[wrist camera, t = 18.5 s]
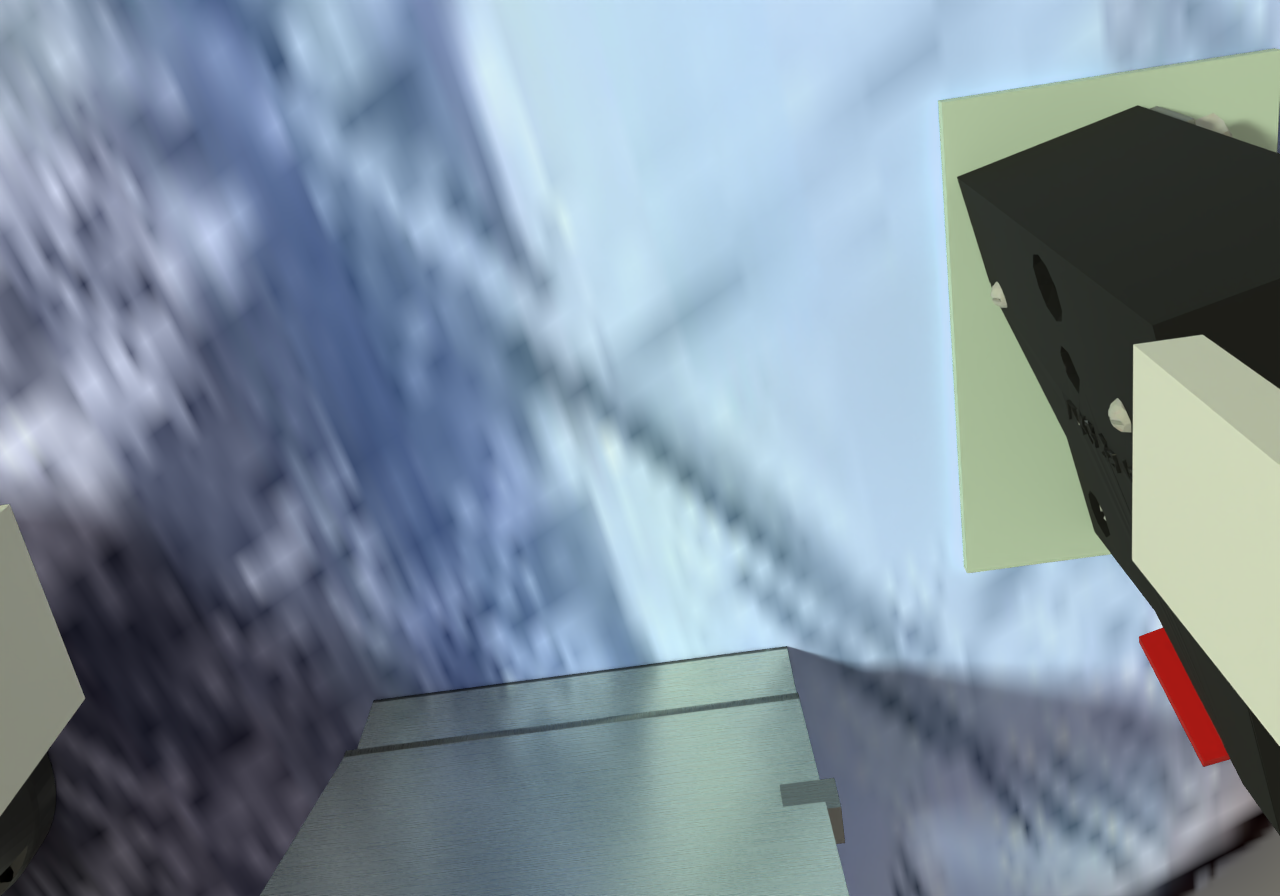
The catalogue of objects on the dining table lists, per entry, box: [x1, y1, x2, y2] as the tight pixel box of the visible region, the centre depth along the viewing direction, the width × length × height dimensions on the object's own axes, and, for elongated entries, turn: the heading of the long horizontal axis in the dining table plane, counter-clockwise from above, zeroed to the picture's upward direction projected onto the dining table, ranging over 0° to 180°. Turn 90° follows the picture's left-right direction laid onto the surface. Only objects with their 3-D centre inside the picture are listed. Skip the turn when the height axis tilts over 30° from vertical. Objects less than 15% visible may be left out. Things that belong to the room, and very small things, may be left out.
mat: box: [938, 48, 1280, 573], centre depth 51 cm, size 13×21×1 cm, turn 9°
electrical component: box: [957, 105, 1280, 835], centre depth 42 cm, size 18×10×20 cm, turn 22°
